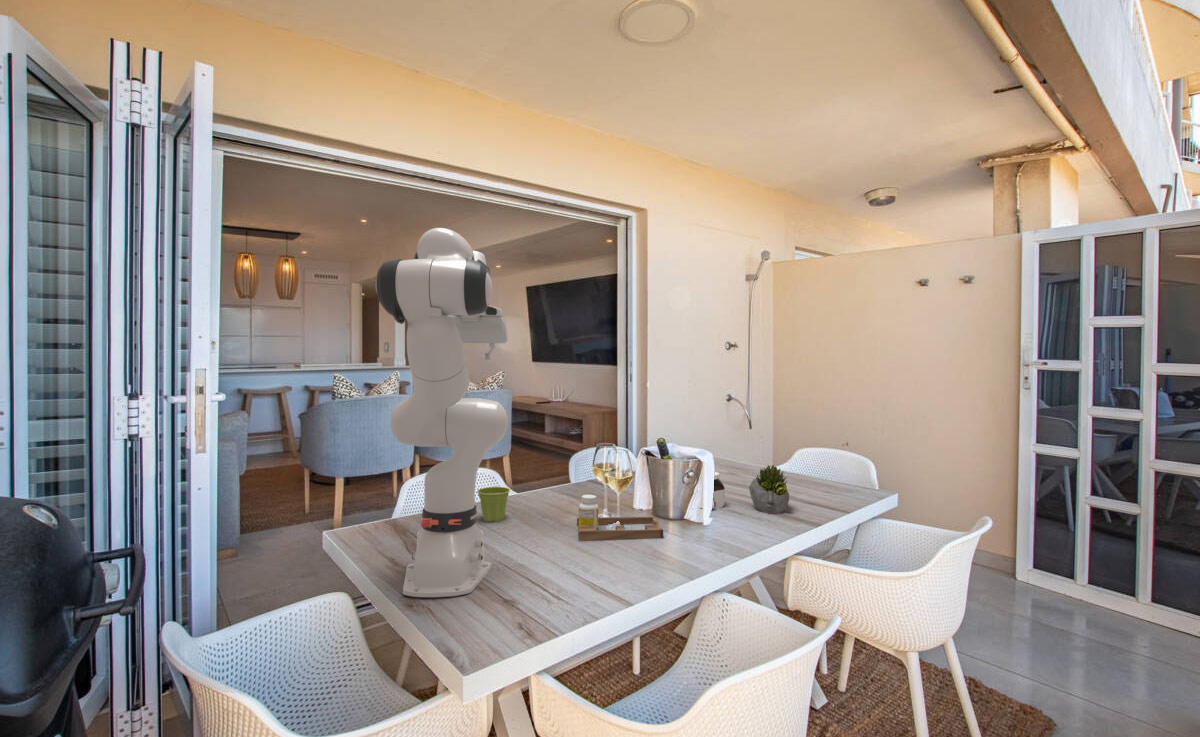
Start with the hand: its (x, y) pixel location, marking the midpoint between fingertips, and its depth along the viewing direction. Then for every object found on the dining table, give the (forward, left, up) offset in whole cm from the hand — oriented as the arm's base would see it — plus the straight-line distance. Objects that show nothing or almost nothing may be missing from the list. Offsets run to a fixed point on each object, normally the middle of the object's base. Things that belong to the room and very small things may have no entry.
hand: (470, 359), depth 157 cm
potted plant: (+8, -90, -47) cm, 102 cm away
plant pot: (+5, -6, -47) cm, 48 cm away
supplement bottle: (-7, -33, -47) cm, 58 cm away
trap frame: (-10, -41, -47) cm, 63 cm away
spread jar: (+11, -71, -47) cm, 86 cm away
